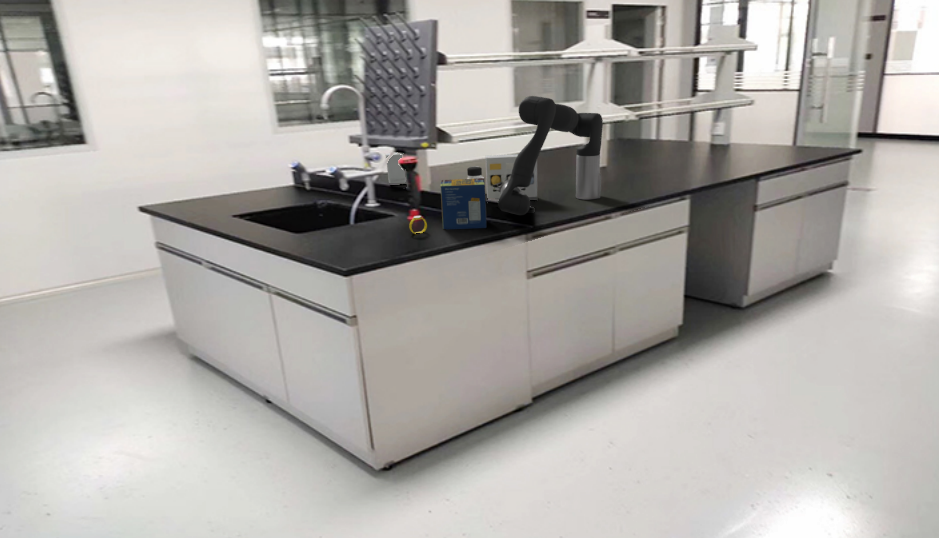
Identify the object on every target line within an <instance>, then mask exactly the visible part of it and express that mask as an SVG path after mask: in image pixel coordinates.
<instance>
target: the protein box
mask: <svg viewBox="0 0 939 538" xmlns="http://www.w3.org/2000/svg"><path fill="white" fill-rule="evenodd" d="M484 178H485V177H484ZM484 178H476V179H467V178H461V179H460V178H458V179H442V180H441V182H440V199H441V201H440V202H441V217H442V219H441V220H442V230H443V229H446V230H468V229H470V230H472V229H486V228H487V196H486V184H485V183H486V182H485V183H484Z"/></svg>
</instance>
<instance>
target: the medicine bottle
mask: <svg viewBox="0 0 939 538" xmlns="http://www.w3.org/2000/svg"><path fill="white" fill-rule="evenodd" d="M482 173H483V172H482V167H480V166H478V165H477V166H476V165H475V166H470V167H468V168H467V178H466V179H476V178H484V183H486V182H485V180H486V179H485V178H486V177H484V176H483V174H482Z"/></svg>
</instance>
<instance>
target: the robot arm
mask: <svg viewBox="0 0 939 538" xmlns="http://www.w3.org/2000/svg"><path fill="white" fill-rule="evenodd" d="M518 115H519V118H520V120H521V121H522V122H524V123H525V124H527V125H532V126H537V127H536V130H535V132H534V134H533V136H532V137H531V139H530V140H529V141H528V143H526V145H525V146H524V147H523V148H522V149H521V151H519V153H517V154H518V156H517V157H516V160H515V162H514V166H513V170H512V174H511V177H510V180H506V181H504V182H500V183H497V184H494V185H493V192H495V191H499V192H500V195H501V196H500V198H499V201H498V202H497V205H498V208H499V209H500V210H501V212H506V213H510V214H512V215H513V214H514V215H517V216H524V215H526V214H527V213H528V212H529V210H530V208H531V201H530V199H529V197H528V196H527V195H526V194H524V193H523V192H521V190H526V188H525V187H528V186H529V185H530V183H531V179H532V175H533V171H534V168H535V164H536V161H537V162H538V158H539V156H540V152H541V150H542V148H543V146H544V144H545V141H546V139H547V137H548V135H549V132H550V130H551V129H552V130H554V131H558V132H562V133H570V134H572V135H574V136H577V137H579V138H589V142H587V143H586V144H583V145H580V146H578V147H577V148H576V166H575V167H576V168H575V169H576V170H575V171H576V172H575V173H576V174H575V175H576V176H575V197H576V198H577V199H580V200H596V199H601V189H602V187H601V185H602V181H601V180H602V175H601V174H602V173H600V171H601V148H602V138H603V136H602V135H603V128H604V127H603V123H604V122H603V116H602V115H601V113H598V112H577V111H576V110H575V109H574V108H573V107H572V106H569V105H565V104H560V103H556V102H555V100H553V99H552V98H549V97H542V96H537V95H536V96H535V95H529V96H525V98H523V99H522V100H521V101H520V103H519V106H518Z"/></svg>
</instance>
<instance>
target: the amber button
mask: <svg viewBox="0 0 939 538" xmlns="http://www.w3.org/2000/svg"><path fill="white" fill-rule="evenodd" d="M491 182H492V184H493V185H494V184H497V183H500V177H499V175H492V176H491Z"/></svg>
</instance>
